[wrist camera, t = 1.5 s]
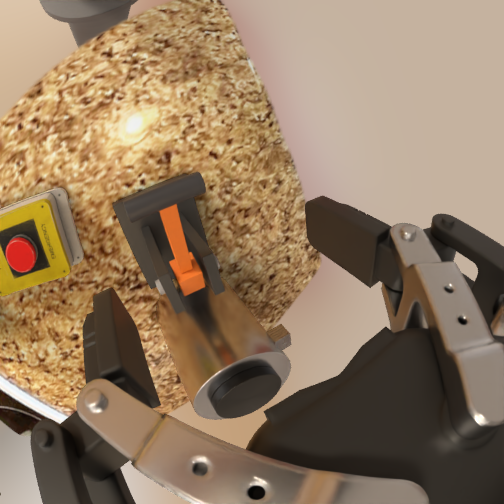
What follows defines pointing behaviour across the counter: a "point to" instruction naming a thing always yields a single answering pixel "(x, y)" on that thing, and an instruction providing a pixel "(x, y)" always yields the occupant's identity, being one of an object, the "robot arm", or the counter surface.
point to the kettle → (223, 352)
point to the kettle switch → (172, 224)
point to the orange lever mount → (168, 247)
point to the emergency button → (37, 241)
